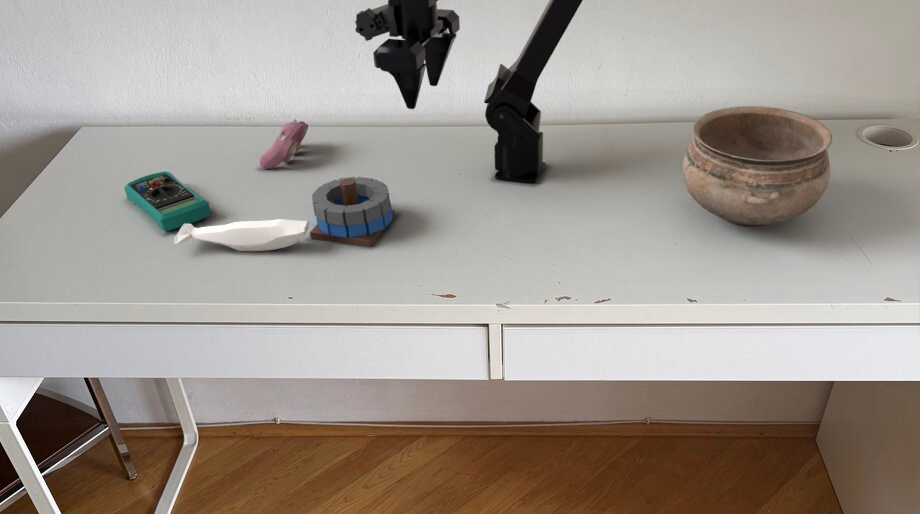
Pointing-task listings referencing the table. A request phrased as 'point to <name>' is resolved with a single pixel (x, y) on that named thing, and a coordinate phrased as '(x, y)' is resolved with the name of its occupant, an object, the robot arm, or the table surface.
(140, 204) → the digital multimeter
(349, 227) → the blue ring
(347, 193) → the peg stand
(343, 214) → the grey ring
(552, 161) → the table surface
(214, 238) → the toy fish
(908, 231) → the table surface
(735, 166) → the cooking pot
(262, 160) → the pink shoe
